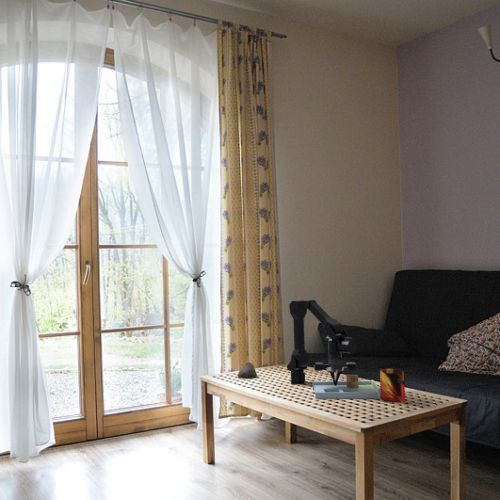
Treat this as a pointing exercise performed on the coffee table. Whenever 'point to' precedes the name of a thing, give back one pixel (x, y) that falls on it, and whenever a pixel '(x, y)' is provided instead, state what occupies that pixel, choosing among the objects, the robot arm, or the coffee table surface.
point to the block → (352, 381)
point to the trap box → (345, 390)
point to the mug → (392, 385)
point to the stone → (247, 371)
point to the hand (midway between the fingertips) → (335, 385)
